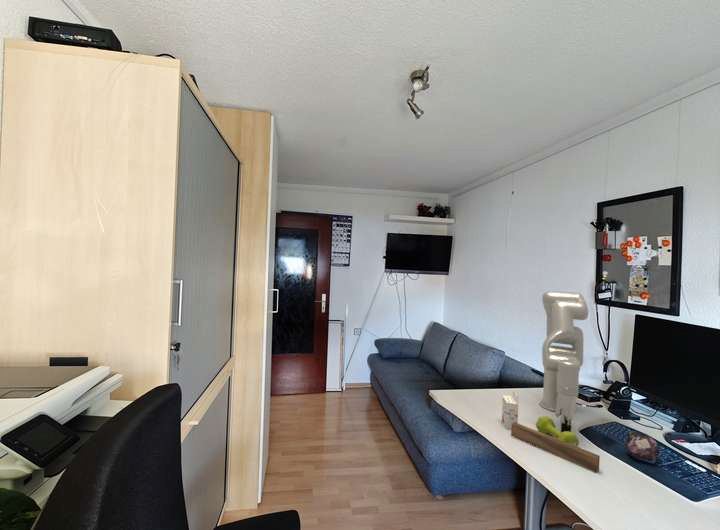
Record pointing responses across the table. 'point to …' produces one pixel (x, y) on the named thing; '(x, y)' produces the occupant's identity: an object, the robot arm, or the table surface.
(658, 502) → the table surface
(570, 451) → the walnut board
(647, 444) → the mineral specimen
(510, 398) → the ink cartridge box
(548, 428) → the dumbbell
